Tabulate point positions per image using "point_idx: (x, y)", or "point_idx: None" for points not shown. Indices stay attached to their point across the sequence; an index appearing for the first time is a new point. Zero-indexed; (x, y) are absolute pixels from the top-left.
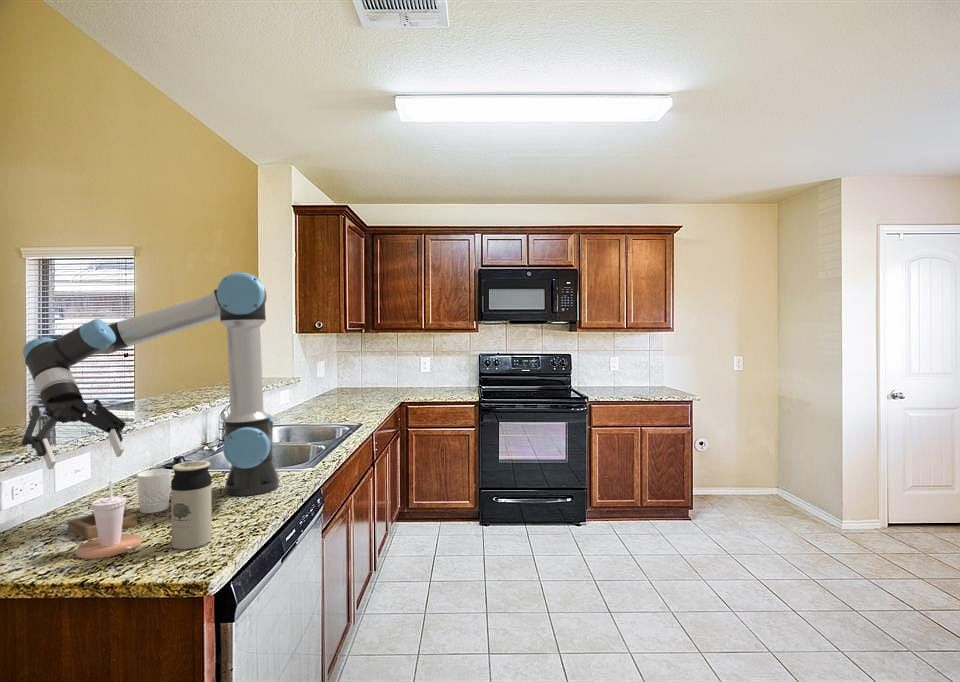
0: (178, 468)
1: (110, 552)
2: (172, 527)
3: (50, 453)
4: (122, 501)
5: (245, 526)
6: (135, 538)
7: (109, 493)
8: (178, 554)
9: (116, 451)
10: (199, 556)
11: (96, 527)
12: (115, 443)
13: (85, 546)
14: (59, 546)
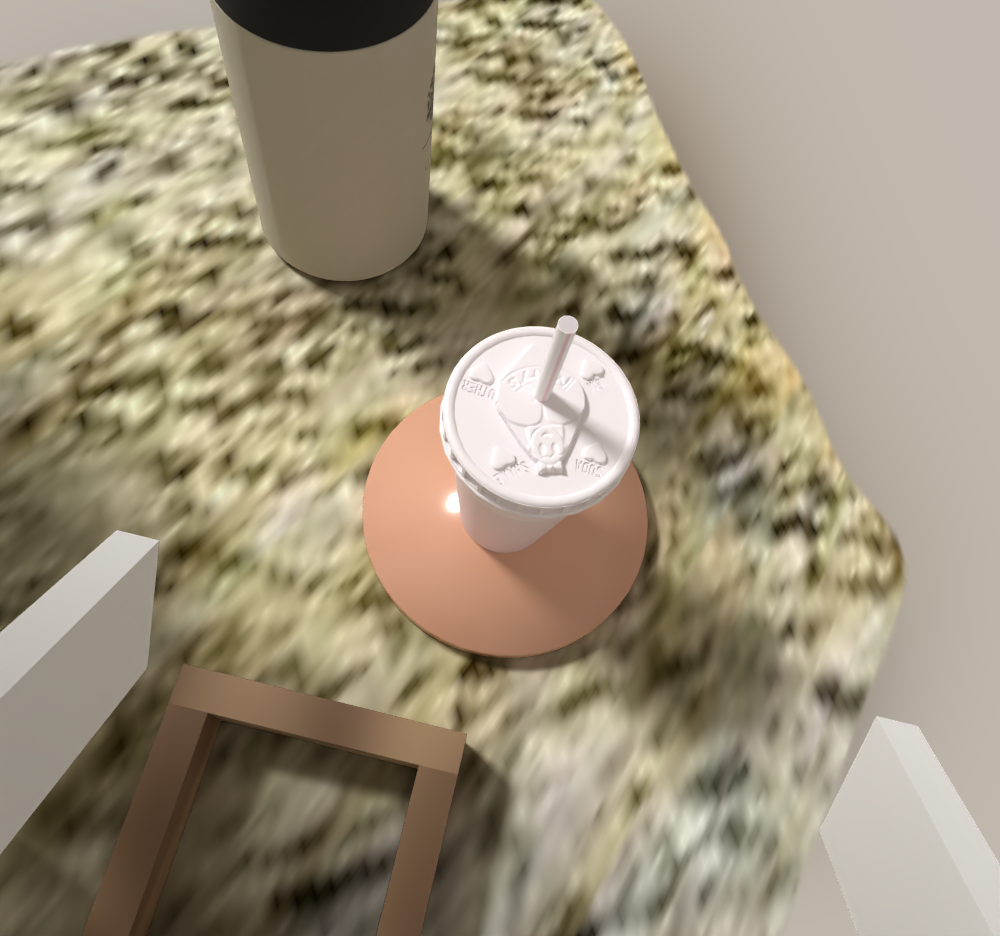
0: None
1: None
2: (423, 179)
3: (956, 821)
4: (516, 328)
5: (96, 135)
6: (408, 454)
7: (559, 372)
8: (459, 188)
9: (121, 666)
10: (448, 109)
11: (421, 723)
12: (70, 675)
13: (572, 599)
14: (584, 803)
